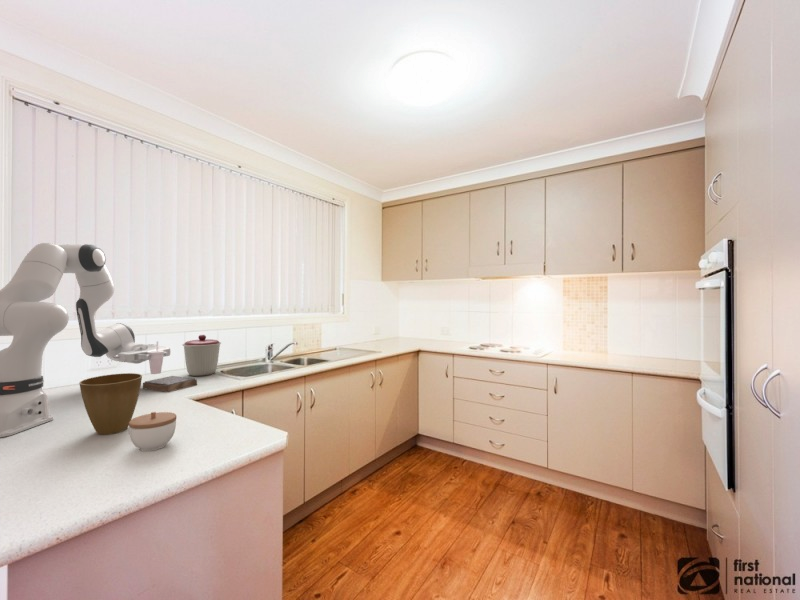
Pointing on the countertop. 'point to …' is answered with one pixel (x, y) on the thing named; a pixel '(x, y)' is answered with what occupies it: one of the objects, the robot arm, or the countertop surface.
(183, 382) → the dark brown flat slab
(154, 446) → the lidded jar
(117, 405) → the plant pot
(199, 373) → the canister
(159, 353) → the smoothie
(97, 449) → the countertop surface
